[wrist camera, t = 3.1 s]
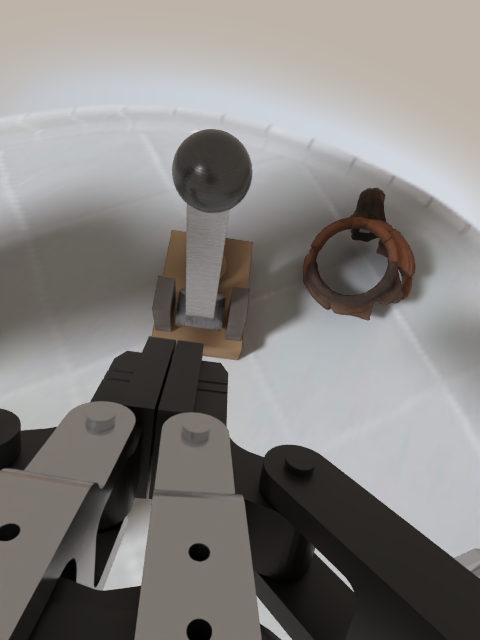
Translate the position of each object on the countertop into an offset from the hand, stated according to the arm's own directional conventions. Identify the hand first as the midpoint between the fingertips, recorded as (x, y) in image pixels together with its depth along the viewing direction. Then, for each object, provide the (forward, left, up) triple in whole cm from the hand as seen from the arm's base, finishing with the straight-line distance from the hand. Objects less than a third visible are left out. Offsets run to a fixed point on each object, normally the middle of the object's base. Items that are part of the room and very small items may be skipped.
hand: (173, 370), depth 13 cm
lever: (0, +11, -20) cm, 23 cm away
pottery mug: (+13, +19, -24) cm, 33 cm away
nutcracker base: (0, +14, -24) cm, 27 cm away
